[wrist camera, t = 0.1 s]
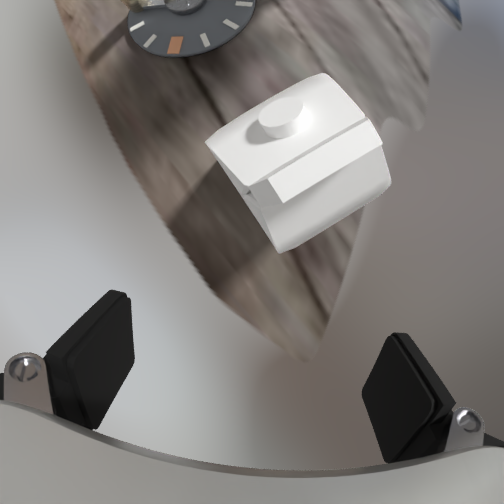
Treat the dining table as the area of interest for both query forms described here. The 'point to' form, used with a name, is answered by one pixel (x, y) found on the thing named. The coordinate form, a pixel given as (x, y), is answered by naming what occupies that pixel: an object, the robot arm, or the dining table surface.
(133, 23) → the dial board
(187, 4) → the lever
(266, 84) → the dining table surface
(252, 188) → the milk
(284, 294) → the dining table surface
